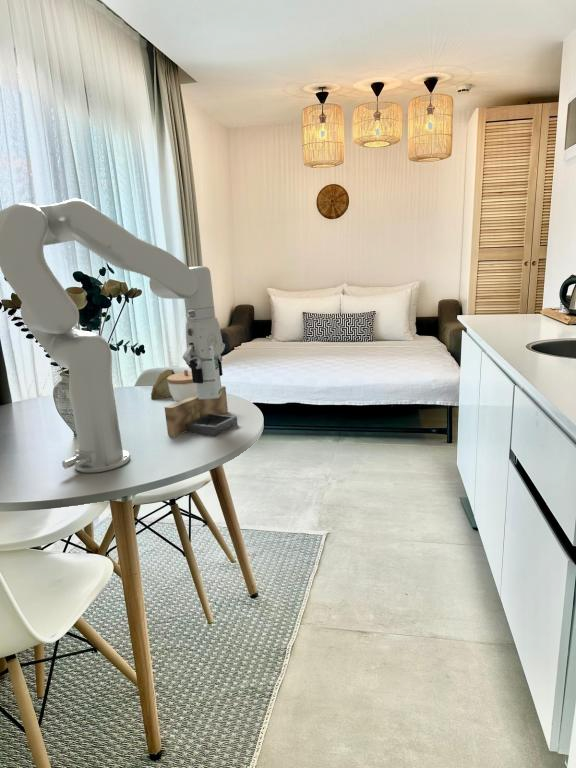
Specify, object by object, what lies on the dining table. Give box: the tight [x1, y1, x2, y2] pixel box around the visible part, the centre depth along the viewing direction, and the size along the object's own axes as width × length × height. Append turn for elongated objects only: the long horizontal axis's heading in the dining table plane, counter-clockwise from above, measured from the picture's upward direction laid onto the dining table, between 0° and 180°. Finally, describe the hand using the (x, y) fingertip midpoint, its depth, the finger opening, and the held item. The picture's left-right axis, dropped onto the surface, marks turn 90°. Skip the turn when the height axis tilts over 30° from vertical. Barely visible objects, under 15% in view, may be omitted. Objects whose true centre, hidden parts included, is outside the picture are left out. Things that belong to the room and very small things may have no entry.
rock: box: [150, 369, 176, 400], centre depth 185 cm, size 11×9×10 cm
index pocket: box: [186, 413, 238, 437], centre depth 145 cm, size 10×10×2 cm
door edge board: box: [164, 385, 229, 437], centre depth 151 cm, size 24×3×8 cm, turn 150°
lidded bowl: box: [167, 369, 198, 403], centre depth 174 cm, size 13×13×11 cm
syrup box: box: [192, 345, 222, 399], centre depth 142 cm, size 6×6×14 cm
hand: (208, 378), depth 142 cm, fingers closed on syrup box, 7 cm apart
